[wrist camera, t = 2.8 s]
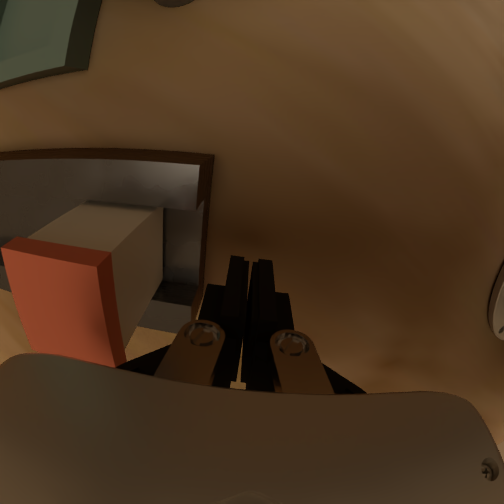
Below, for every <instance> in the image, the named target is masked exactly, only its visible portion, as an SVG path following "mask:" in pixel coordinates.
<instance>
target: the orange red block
mask: <svg viewBox="0 0 504 504" xmlns="http://www.w3.org/2000/svg"><path fill="white" fill-rule="evenodd" d="M1 252H2V256H3V261H4V265H5V269H6V273H7V277H8V280H9V284H10V288H11V291H12V294H13V298H14V301H15V304H16V307H17V310H18V313H19V316H20V319H21V322H22V325H23V327H24V330H25V333H26V335H27V338H28V340H29V343H30V345H31V348H32V350H35V351H37V352H40V353H50V354H59V355H64V356H69V357H73V358H77V359H81V360H85V361H89V362H93V363H98V364H102V365H106V366H110V367H114V368H116V367H117V366H119V365H121V364H123V363H125V362H126V361H127V360H126V355H125V348H126V346H127V344H128V342H129V340H130V338H131V336H132V335H133V333H134V331H135V329H136V327H137V325H138V323H139V321H140V319H141V318H142V316H143V314H144V312H145V310H146V308H147V306H148V305H149V303H150V301H151V299H152V297H153V296H154V294H155V292H156V290H157V288H158V287H159V285H160V283H161V281H162V279H163V207H153V206H144V205H134V204H124V203H114V202H103V201H92V200H87V201H86V202H84V203H82V204H80V205H79V206H77V207H75V208H73V209H72V210H70V211H68V212H67V213H65V214H63V215H62V216H60V217H59V218H57V219H55V220H54V221H52V222H51V223H49V224H47V225H46V226H44V227H43V228H41V229H40V230H38V231H37V232H35V233H33V234H32V235H30V236H29V237H28V238H23V237H18V236H17V237H15V238H14V239H12V240H11V241H9V242H8V243H6V244H5V245H3V246H2V247H1Z"/></svg>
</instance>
